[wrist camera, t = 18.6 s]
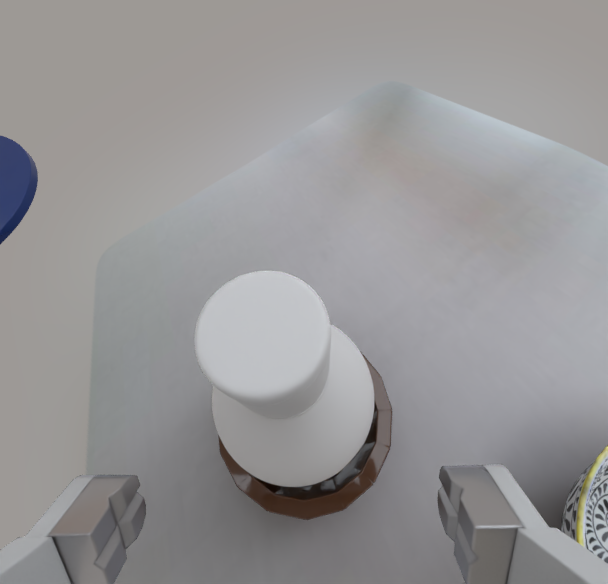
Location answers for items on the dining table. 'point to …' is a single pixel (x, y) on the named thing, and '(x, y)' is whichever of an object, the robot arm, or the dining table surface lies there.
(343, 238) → the dining table surface
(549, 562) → the robot arm
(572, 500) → the bowl
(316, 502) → the cup
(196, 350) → the bath foam
